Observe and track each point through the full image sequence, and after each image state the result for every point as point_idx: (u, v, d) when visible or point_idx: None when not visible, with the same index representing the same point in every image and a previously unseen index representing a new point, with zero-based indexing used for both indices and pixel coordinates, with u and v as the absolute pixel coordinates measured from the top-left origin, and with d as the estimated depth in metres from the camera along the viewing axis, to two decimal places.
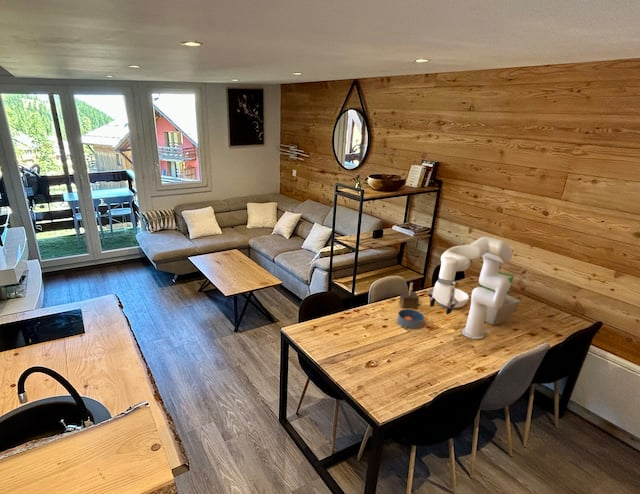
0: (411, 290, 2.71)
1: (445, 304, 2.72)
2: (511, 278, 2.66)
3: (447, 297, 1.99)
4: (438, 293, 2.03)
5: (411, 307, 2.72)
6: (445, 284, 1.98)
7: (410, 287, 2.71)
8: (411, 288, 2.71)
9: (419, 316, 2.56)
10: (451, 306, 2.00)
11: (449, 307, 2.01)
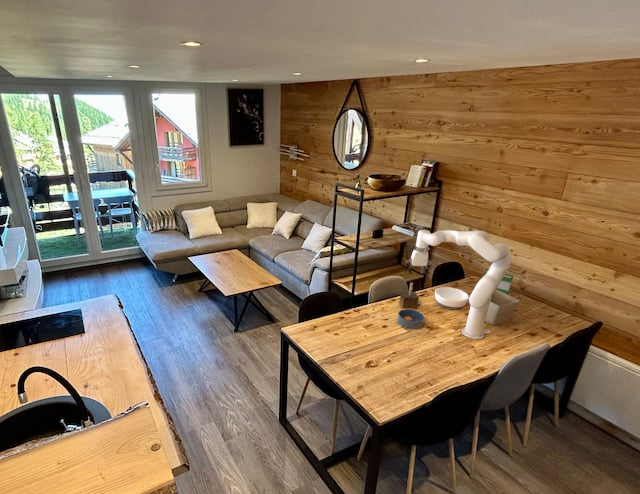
0: (411, 290, 2.71)
1: (445, 304, 2.72)
2: (511, 278, 2.66)
3: (426, 261, 2.52)
4: (418, 260, 2.51)
5: (411, 307, 2.72)
6: (425, 251, 2.48)
7: (410, 287, 2.71)
8: (411, 288, 2.71)
9: (419, 316, 2.56)
10: (428, 267, 2.55)
11: (427, 268, 2.54)
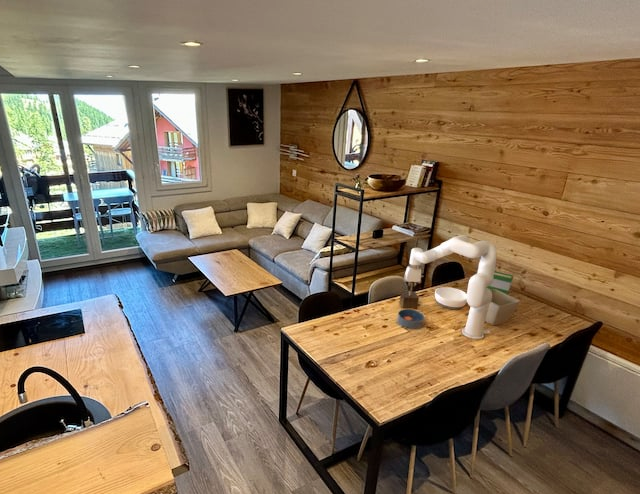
0: (411, 290, 2.71)
1: (445, 304, 2.72)
2: (511, 278, 2.66)
3: (419, 277, 2.66)
4: (412, 276, 2.66)
5: (411, 307, 2.72)
6: (418, 268, 2.62)
7: None
8: (411, 288, 2.71)
9: (419, 316, 2.56)
10: None
11: (414, 285, 2.69)
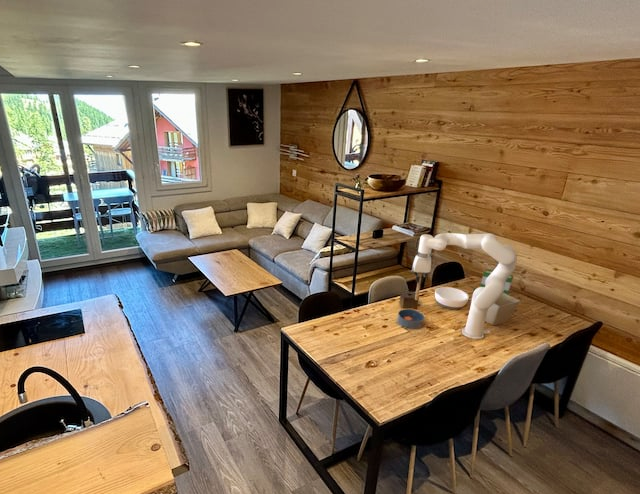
0: (420, 282, 2.45)
1: (445, 304, 2.72)
2: (511, 278, 2.66)
3: (429, 267, 2.39)
4: (421, 266, 2.39)
5: (411, 307, 2.72)
6: (428, 257, 2.36)
7: (419, 278, 2.44)
8: (420, 279, 2.44)
9: (419, 316, 2.56)
10: (425, 275, 2.43)
11: (423, 276, 2.43)
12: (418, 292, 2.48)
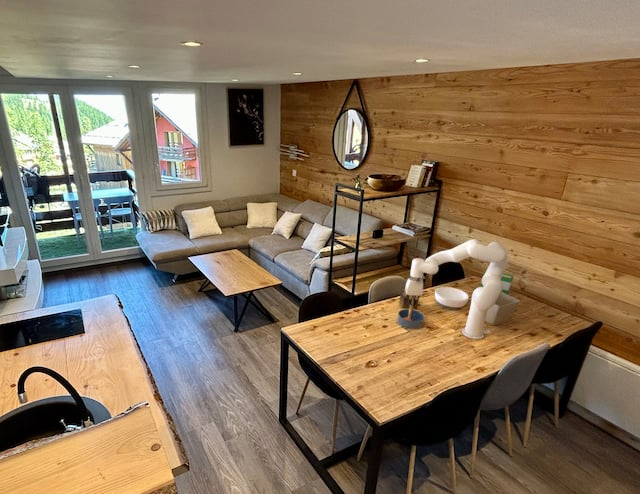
0: (412, 304, 2.48)
1: (445, 304, 2.72)
2: (511, 278, 2.66)
3: (421, 290, 2.42)
4: (413, 290, 2.42)
5: None
6: (420, 281, 2.39)
7: (411, 301, 2.47)
8: (412, 302, 2.47)
9: (419, 316, 2.56)
10: (417, 298, 2.46)
11: (416, 299, 2.46)
12: (410, 314, 2.51)
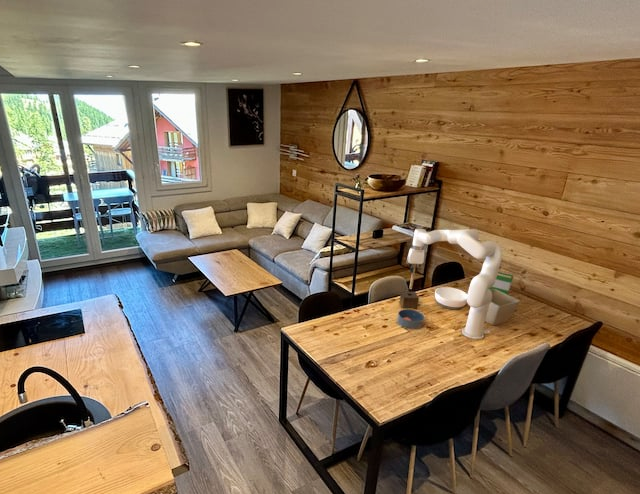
0: (414, 272, 2.66)
1: (445, 304, 2.72)
2: (511, 278, 2.66)
3: (422, 259, 2.61)
4: (414, 258, 2.61)
5: (411, 307, 2.72)
6: (421, 249, 2.57)
7: (413, 269, 2.66)
8: (414, 270, 2.66)
9: (419, 316, 2.56)
10: None
11: (417, 267, 2.64)
12: (412, 282, 2.69)
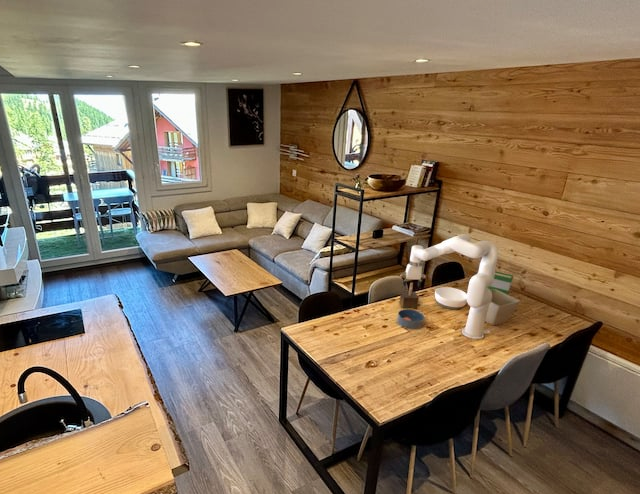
0: (411, 290, 2.72)
1: (445, 304, 2.72)
2: (511, 278, 2.66)
3: (420, 274, 2.65)
4: (412, 274, 2.65)
5: (411, 307, 2.72)
6: (419, 265, 2.61)
7: (410, 287, 2.71)
8: (411, 288, 2.71)
9: (419, 316, 2.56)
10: (421, 280, 2.68)
11: (420, 281, 2.68)
12: None
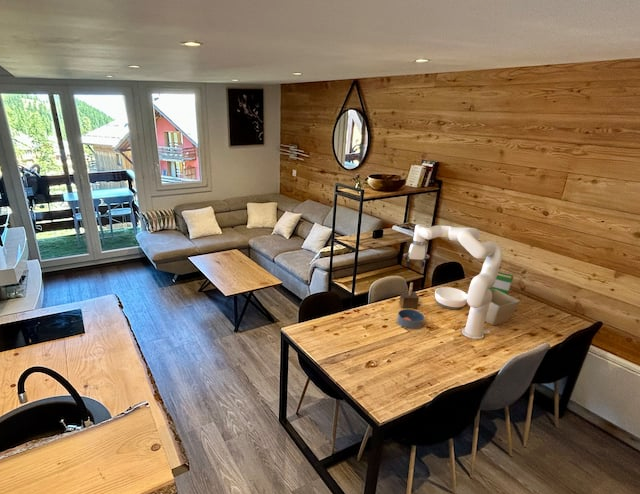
0: (411, 290, 2.72)
1: (445, 304, 2.72)
2: (511, 278, 2.66)
3: (423, 254, 2.59)
4: (415, 254, 2.59)
5: (411, 307, 2.72)
6: (422, 245, 2.56)
7: (410, 287, 2.71)
8: (411, 288, 2.71)
9: (419, 316, 2.56)
10: (425, 260, 2.62)
11: (424, 261, 2.62)
12: None
